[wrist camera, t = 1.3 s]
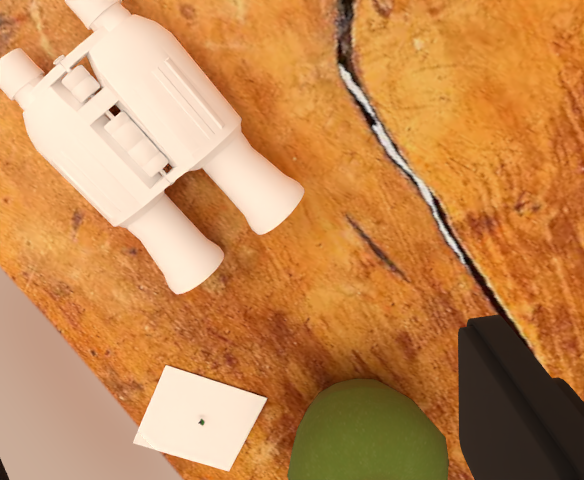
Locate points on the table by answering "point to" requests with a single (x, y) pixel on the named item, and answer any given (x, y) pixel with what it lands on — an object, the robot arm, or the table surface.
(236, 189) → the binoculars
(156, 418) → the white box
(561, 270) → the table surface
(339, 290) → the table surface
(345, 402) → the apple
